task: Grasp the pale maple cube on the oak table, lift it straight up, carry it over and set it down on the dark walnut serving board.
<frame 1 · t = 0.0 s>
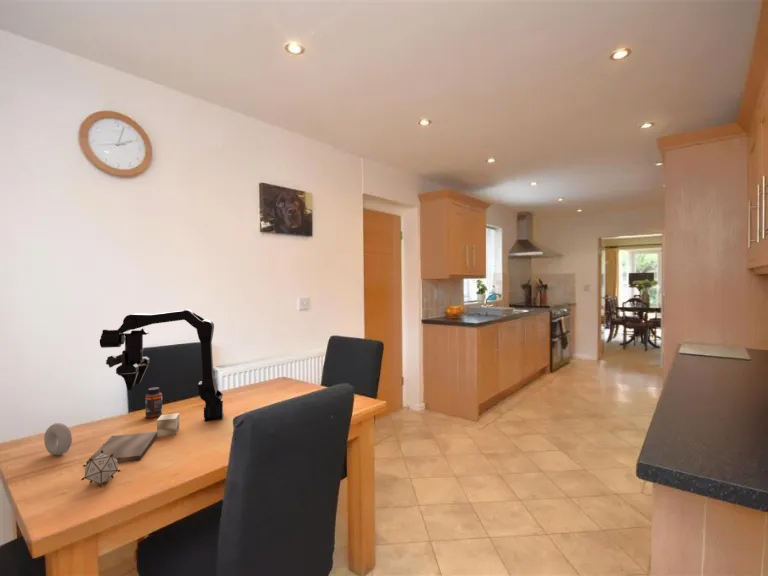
hand: (133, 387, 145), 15 cm above the table, fingers open, 9 cm apart
walnut board: (125, 449, 124), on the table
maple cube: (168, 432, 138), on the table
supplement bottle: (153, 416, 156), on the table
donut: (58, 455, 120), on the table
game die: (101, 483, 103), on the table
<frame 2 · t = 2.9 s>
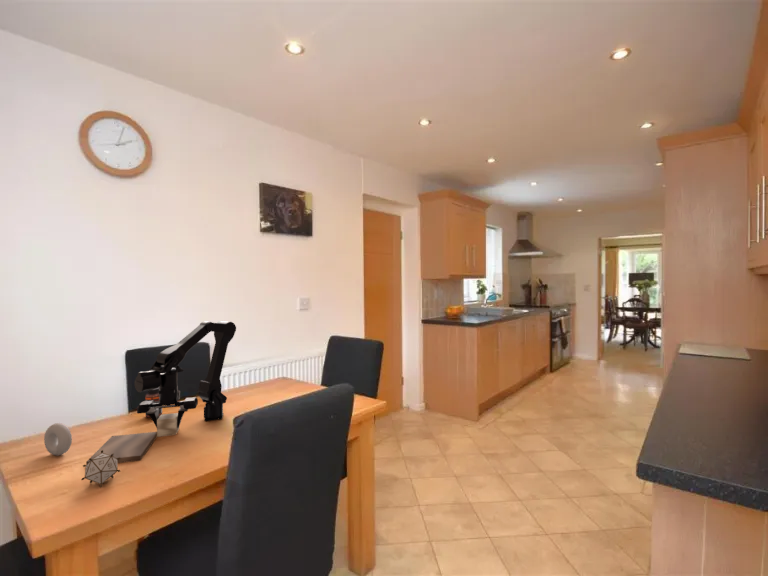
hand: (168, 428, 138), 2 cm above the table, fingers closed on maple cube, 6 cm apart
maple cube: (168, 432, 138), on the table, touching gripper
everything else where it was.
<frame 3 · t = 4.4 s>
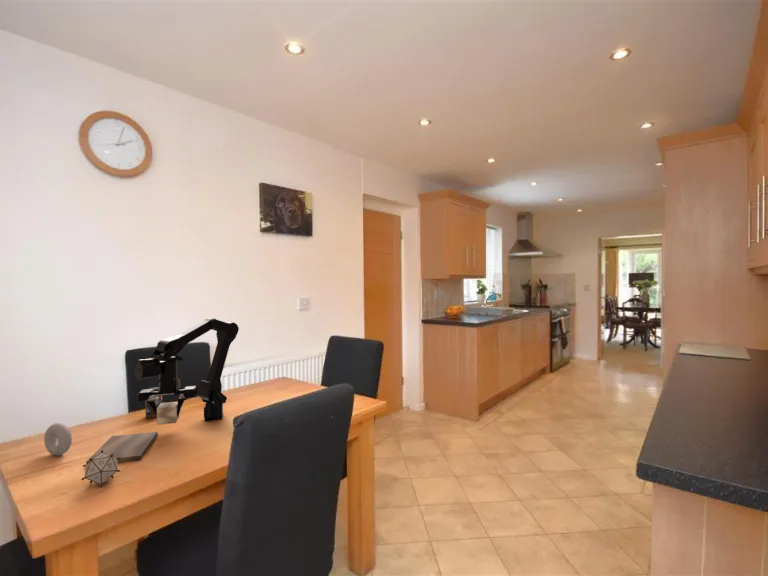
hand: (168, 416, 138), 6 cm above the table, fingers closed on maple cube, 6 cm apart
maple cube: (168, 421, 138), point 4 cm above the table, touching gripper
everything else where it was.
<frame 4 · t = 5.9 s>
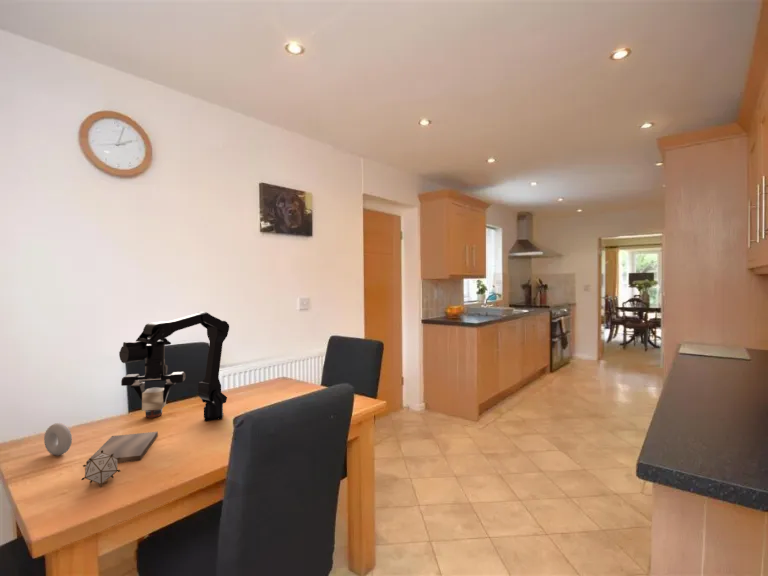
hand: (154, 402, 133), 12 cm above the table, fingers closed on maple cube, 6 cm apart
maple cube: (154, 407, 133), point 11 cm above the table, touching gripper
everything else where it was.
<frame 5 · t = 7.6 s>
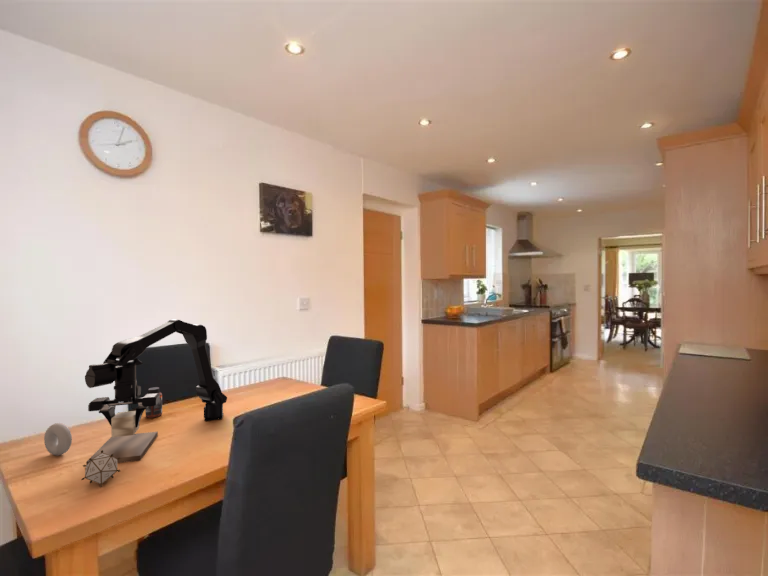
hand: (125, 428, 124), 7 cm above the table, fingers closed on maple cube, 6 cm apart
maple cube: (125, 432, 124), point 6 cm above the table, touching gripper
everything else where it was.
when the fingers open (4 cm above the table, at t = 9.0 s): maple cube stays where it is, resting on walnut board.
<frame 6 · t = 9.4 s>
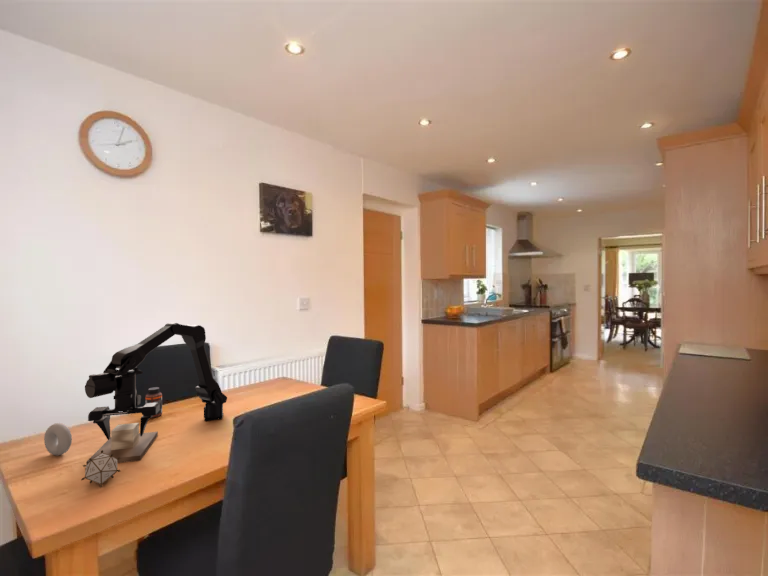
hand: (125, 437, 124), 4 cm above the table, fingers open, 9 cm apart
maple cube: (125, 445, 124), point 1 cm above the table, touching walnut board
everything else where it was.
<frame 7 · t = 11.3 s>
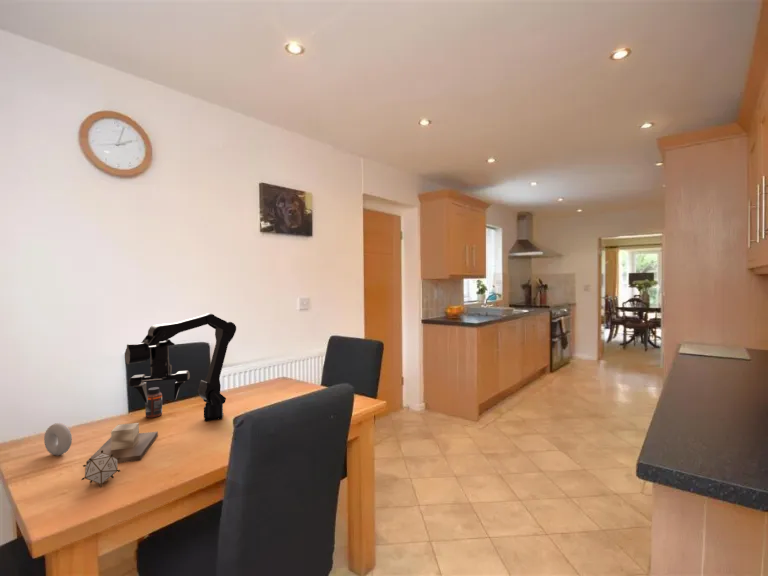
hand: (161, 401, 139), 11 cm above the table, fingers open, 9 cm apart
nothing on the table moved.
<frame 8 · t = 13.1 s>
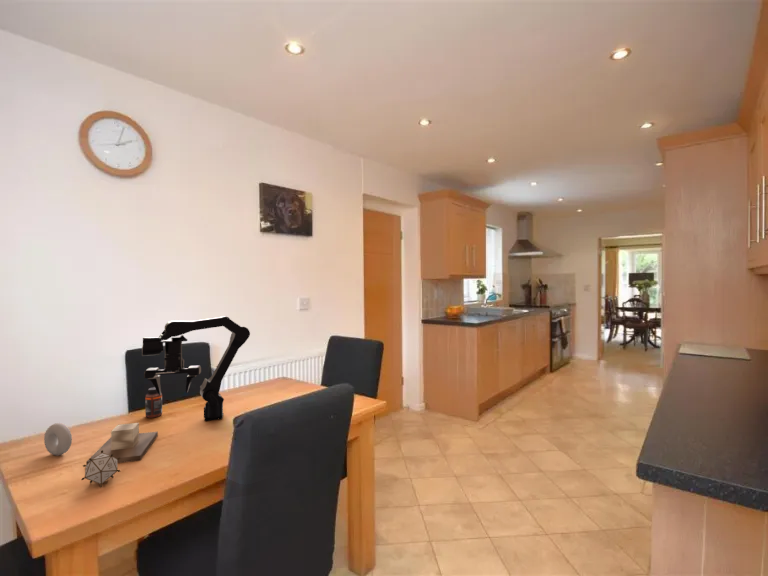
hand: (173, 393, 146), 12 cm above the table, fingers open, 9 cm apart
nothing on the table moved.
at the end: maple cube inside the target area on the walnut board (0.0 cm from its centre), point 1.5 cm above the walnut board's base; maple cube tilted 0°; the gripper is holding nothing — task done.
